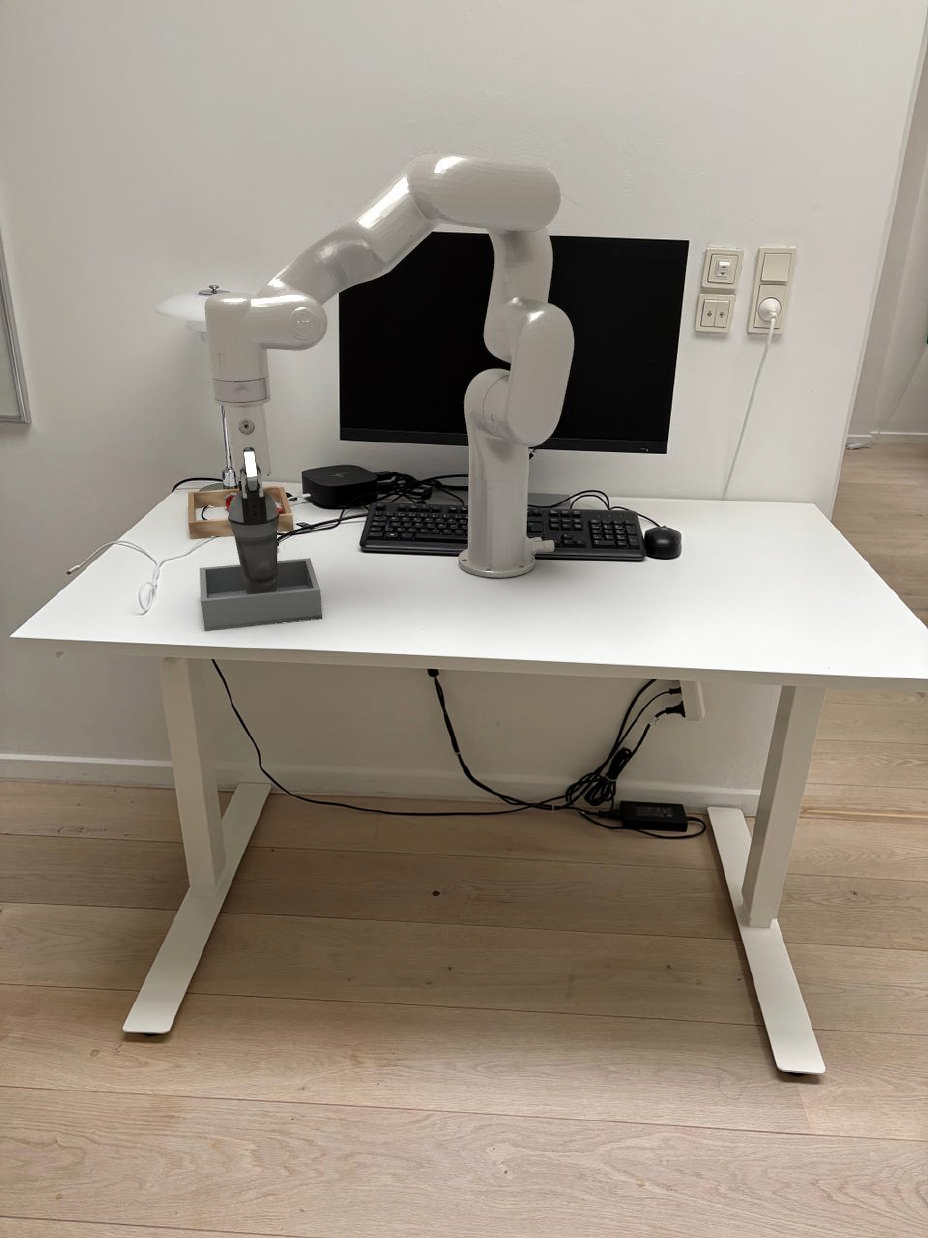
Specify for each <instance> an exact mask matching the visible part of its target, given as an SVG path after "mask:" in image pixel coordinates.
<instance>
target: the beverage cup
mask: <svg viewBox="0 0 928 1238" xmlns="http://www.w3.org/2000/svg"><path fill="white" fill-rule="evenodd" d="M243 475H245V472H243ZM245 483H247V480H245ZM246 492H247V490H246ZM263 495H265V502H266V513H267V523H266V524H259V525H244V521H243V511H242V501H241V497H243V492H242V490H241V491H240V492H238V493H237V494H236V495H235V496H234V498H233V499H232V501H231V503H230V506H229V510H228V515H227V518H228V520H229V521H230V526H231V529H232V532H233V533H234V536H233V537H234V541H235V545H236V552H237V556H238V561H239V562H238V563H239V564H240V566H241V571H242V576H243V581H244V584H245V588H246V593H247V594H259V593H269V592H275V591H276V590H277V561H278V532H277V529H278V524H279V516H280V515H279V512H278V509H277V507H278V506H277V502H276V503H275V501H274V499H273V498H272V496H271V495H270V494H268V493H267V492H266V491H264V490H263Z"/></svg>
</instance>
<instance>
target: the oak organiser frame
mask: <svg viewBox="0 0 928 1238" xmlns="http://www.w3.org/2000/svg"><path fill="white" fill-rule="evenodd" d="M262 487H263V490H264V491H266V492H267V493H268V494H270V495H271V496H272V498H273V499H274V501H275V502H276V503H279V504H281V505H280V508H281V507H282V508H281V509H282V510H283V514H279V515H280V516H279V524H278V529H277V531H286V532H293V531H292V530H294V518H293V511H292V509H291V506H290V502H289V500H288V496H287V493H286V490H285V486H284V485H271V486H262ZM238 492H239V488H230V489H215V490H199V491H188V492H187V503H188V509H187V510H188V519H187V520H188V529H189V538H190V540H198V538H199V539H207V538H206V537H211V536H224V537H234V533H233V532H232V529H231V526H230V521H229V520H228V517H227V518H226V517H225V518H213V519H210V518H209V519H201V520H197V518H196V517H197V516H196V509H203V508H202V507H205V506H207V505H211V506H221V507H226V501H225V500H223V498H224V497H226V496H227V495H229V494H230V493H235V494H237V493H238ZM230 503H231V502H230ZM294 531H295V530H294ZM211 538H212V537H211Z"/></svg>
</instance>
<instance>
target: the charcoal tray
mask: <svg viewBox="0 0 928 1238" xmlns="http://www.w3.org/2000/svg"><path fill="white" fill-rule="evenodd" d="M311 560H312V559H311V558H298V559H286V560H277V590H276V591H275V592H269V593H259V594H247V593H246V588H245V584H244V581H243V576H242V571H241V566H240V563H239V564H230V565H229V564H228V565H218V566H217V565H216V566H208V567H207V566H206V567H199V582H200V583H199V584H200V605H201V612H202V621H203V629H204V632H207V631H216V630H225V629H234V628H236V629H237V628H247V627H255V626H256V627H257V626H266V625H274V624H275V623H277V624H284V623H283V622H287V623H292V622H291V621H296V622H300V621H299V620H306V621H312V620H311V619H316V620H322V619H323V612H322V611H323V610H322V596H321V588H320V585H319V581H318V579H317V575H316V573H315V568H314V565H313V563H312V561H311Z"/></svg>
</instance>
